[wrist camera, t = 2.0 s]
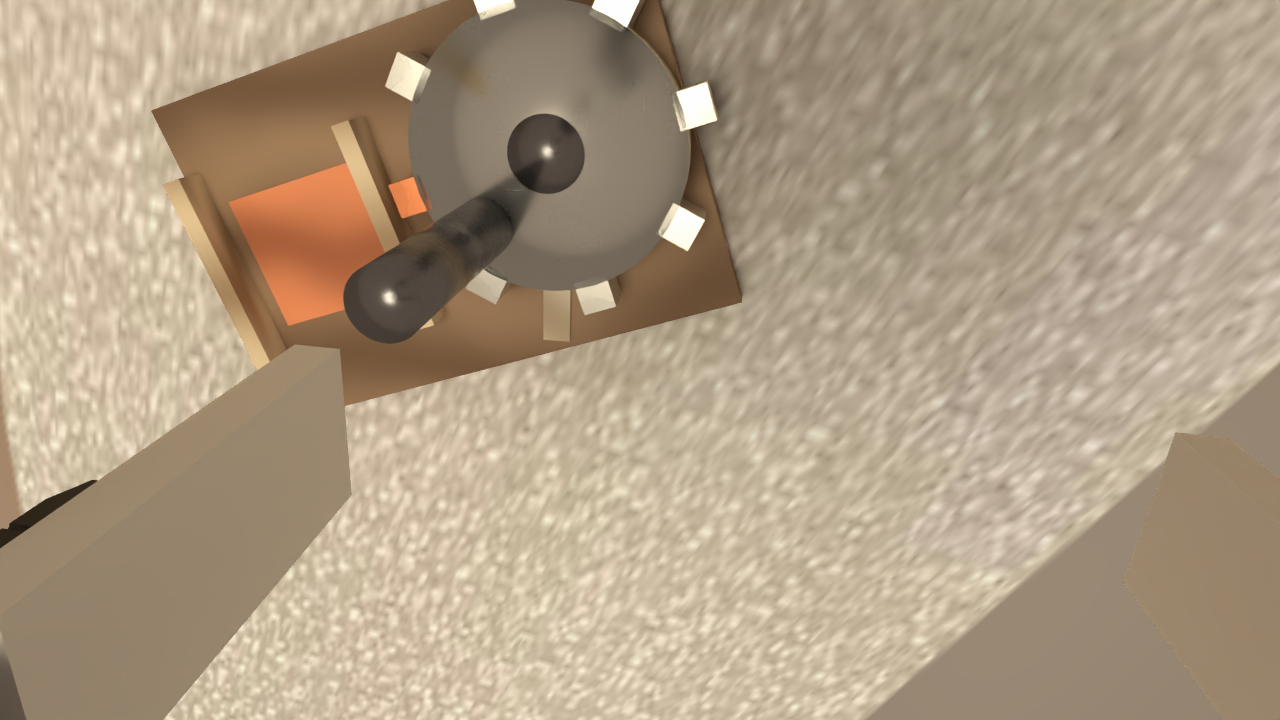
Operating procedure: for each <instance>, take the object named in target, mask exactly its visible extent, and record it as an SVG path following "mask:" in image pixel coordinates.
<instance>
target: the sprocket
mask: <svg viewBox="0 0 1280 720" xmlns="http://www.w3.org/2000/svg"><path fill="white" fill-rule="evenodd" d="M474 2H475V5H476V8H477V10H478V14H476V15H475V16H473V17H471V18H470V19H468V20H467V21H465V22H464V23H462V24H461V25H460V26H459V27H458V28H456V29H455V30H454V31H453V32H452V33H451V34H450V35H448V36H447V37H446V39H445V40H444V41H443V42H442V43H441V44H440V46H439V47H438V48H437V49H436V50H435V52H434V53H433V55H432V57H431V58H430V59H429V58H427V57H426V56H424V55H422V54H420V53H418V52H416V51H401V52H397V55H396V57H395V60H394V63H393V66H392V68H391V71H390V74H389V77H388V79H387V82H386V85H385V87H387V88H389V89H390V90H392V91H394V92H396V93H398V94H400V95H402V96H403V97H405V98H407V99H409V100H411V101H412V104H411V110H410V116H409V126H408V145H409V157H410V162H411V167H412V172H413V175H412V176H409V177H406V178H403V179H401V180H399V181H397V182H394V183H392V184H390V185H388V186H389V189H390V191H391V193H392V196H393V198H394V201H395V203H396V205H397V208H398V210H399V213H400V215H401V218H405V217H409V216H412V215H415V214H418V213H421V212H425V211H428V213H429V215H430V216H431V218H432V219H433V221H434V223H432V224H431V225H429V226H427V227H426V228H424V229H422V230H421V231H419V232H418V233H416V234H414V235H413V236H411V237H410V238H408V239H406V240H405V241H403V242H402V243H400V244H398V245H397V246H395V247H393V248H392V249H390V250H389V251H387V252H385V253H384V254H382V255H381V256H379V257H377V258H376V259H374V260H373V261H371V262H369V263H368V264H366V265H364V266H363V267H361V268H360V269H358V270H357V271H355V272H354V273H353V274H352V275H351V276H350V278H349V279H348V281H347V283H346V285H345V288H344V293H343V302H344V308H345V311H346V314H347V316H348V318H349V320H350V321H351V323H352V324H353V325H354V327H355V328H356V329H357V330H358V331H359V332H360V333H362V334H363V335H364V336H366V337H368V338H369V339H372V340H374V341H377V342H380V343H387V344H393V343H399V342H402V341H405V340H407V339H409V338H410V337H412V336H413V335H414V334H415V333H416V332H417V331H418V330H419V329H420V328H421V327H423V326H424V325H425V324H426V323H427V322H428V321H429V320H430V319H431V318H432V317H433V316H434V315H435V314H437V313H438V312H439V311H440V310H441V309H442V308H443V307H444V306H445V305H446V304H447V303H448V302H449V301H450V300H452V299H453V298H454V297H455V296H456V295H457V294H458V293H459V292H460V291H461V290H462V289H463V288H464V287H465V286H467V287H466V289H467V290H469V291H471V292H473V293H475V294H477V295H479V296H481V297H483V298H484V299H486V300H488V301H490V302H492V303H494V304H497V303H498V301H499V300H500V299H501V298H502V297H503V296H504V295H505V294H506V292H507V291H508V289H509V287H510V285H511V283H513V284H516V285H519V286H523V287H527V288H533V289H538V290H550V291H564V290H576V292H577V295H578V298H579V301H580V304H581V307H582V310H583V312H584V315H587V314H591V313H594V312H598V311H602V310H606V309H609V308H613V307H616V306H617V304H618V302H619V299H620V297H621V295H622V292H621V289H620V286H619V283H618V280H617V277H616V276H618V275H620V274H622V273H624V272H625V271H627V270H628V269H630V268H631V267H632V266H634V265H635V264H637V263H638V262H639V261H640V260H641V259H643V258H644V257H645V256H646V255H647V254H648V253H649V252H650V251H651V250H652V249H653V248H654V247H655V245H656V244H657V243H658V242H659V241H660V239H661V238H662V237H663V238H665V239H667V240H668V241H670V242H672V243H674V244H676V245H678V246H679V247H681V248H683V249H685V250H687V251H688V250H689V248H690V246H691V244H692V242H693V241H694V239H695V237H696V235H697V234H698V232H699V230H700V228H701V227H702V225H703V223H704V221H705V218H706V210H704V209H702V208H700V207H699V206H697V205H695V204H693V203H691V202H689V201H688V200H686V199H684V198H682V196H683V193H684V190H685V187H686V184H687V180H688V175H689V169H690V164H691V145H692V143H691V131H690V129H691V128H694V127H697V126H701V125H704V124H707V123H710V122H713V121H717V118H718V114H717V110H716V106H715V103H714V99H713V95H712V91H711V88H710V84H709V80H706V81H703V82H700V83H697V84H694V85H691V86H688V87H684V88H681V89H680V88H679V86H678V84H677V82H676V80H675V78H674V76H673V74H672V72H671V70H670V69H669V67H668V66H667V64H666V63H665V61H664V60H663V58H662V57H661V55H660V54H659V53H658V52H657V51H656V50H655V49H654V47H653V46H652V45H651V44H650V43H649V42H648V41H647V40H646V39H645V38H644V37H643V36H642V35H641V34H639V33H638V32H637V31H636V30H635V29H634V28H633V25H634V23H635V21H636V19H637V17H638V15H639V13H640V11H641V9H642V6H643V4H644V2H645V0H595V2H594V5H593V7H592V6H589V5H585V4H582V3H578V2H573V1H567V0H474Z"/></svg>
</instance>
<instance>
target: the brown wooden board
mask: <svg viewBox="0 0 1280 720" xmlns="http://www.w3.org/2000/svg"><path fill="white" fill-rule="evenodd" d="M567 1H573V2H578V3H582V4H585V5H589V6H592V7H593V5H594V2H595V0H567ZM476 14H478V10H477V8H476V5H475V2H474V0H448V1H446V2H443V3H440V4H438V5H435V6H432V7H430V8H427V9H424V10H421V11H419V12H416V13H413V14H411V15H408V16H405V17H403V18H400V19H397V20H395V21H392V22H389V23H386V24H384V25H381V26H378V27H376V28H373V29H370V30H368V31H365V32H362V33H359V34H357V35H354V36H351V37H349V38H346V39H343V40H341V41H338V42H335V43H332V44H330V45H327V46H324V47H322V48H319V49H316V50H314V51H311V52H308V53H305V54H303V55H300V56H297V57H295V58H292V59H289V60H287V61H284V62H281V63H279V64H276V65H273V66H270V67H268V68H265V69H262V70H260V71H257V72H254V73H252V74H249V75H246V76H243V77H241V78H238V79H235V80H233V81H230V82H227V83H225V84H222V85H219V86H216V87H214V88H211V89H208V90H206V91H203V92H200V93H198V94H195V95H192V96H189V97H187V98H184V99H181V100H179V101H176V102H173V103H171V104H168V105H165V106H162V107H160V108H157V109H154V110H152V113H153V115H154V117H155V119H156V121H157V123H158V125H159V127H160V129H161V131H162V133H163V135H164V137H165V139H166V141H167V143H168V145H169V147H170V149H171V151H172V153H173V155H174V157H175V159H176V161H177V163H178V165H179V167H180V169H181V171H182V173H183V175H184V178H181V179H177V180H174V181H171V182H168V183H166V184H163V186H164V188H165V190H166V192H167V194H168V196H169V198H170V200H171V202H172V204H173V205H174V207H175V209H176V211H177V213H178V215H179V217H180V219H181V221H182V223H183V225H184V227H185V229H186V231H187V233H188V235H189V237H190V239H191V241H192V243H193V245H194V247H195V249H196V251H197V253H198V255H199V257H200V259H201V260H202V262H203V264H204V266H205V268H206V270H207V272H208V274H209V276H210V278H211V280H212V282H213V284H214V286H215V288H216V290H217V292H218V294H219V296H220V298H221V300H222V302H223V304H224V306H225V308H226V310H227V312H228V313H229V315H230V317H231V319H232V321H233V323H234V325H235V327H236V329H237V331H238V333H239V335H240V337H241V339H242V341H243V343H244V345H245V347H246V349H247V351H248V353H249V355H250V357H251V359H252V361H253V363H254V365H255V367H256V368H257V370H259V369H260V368H262V367H263V366H264V365H266V364H267V363H269V362H270V361H272V360H273V359H275V358H276V357H277V356H279V355H280V354H282V353H283V352H285V351H286V350H288V349H289V348H290V347H292V346H293V345H305V346H315V347H325V348H335V349H340V358H341V370H342V382H343V395H344V406H346V405H350V404H354V403H357V402H361V401H365V400H369V399H373V398H377V397H380V396H384V395H388V394H392V393H396V392H400V391H403V390H407V389H411V388H415V387H419V386H423V385H426V384H430V383H434V382H438V381H442V380H446V379H449V378H453V377H457V376H461V375H465V374H469V373H472V372H476V371H480V370H484V369H488V368H492V367H496V366H499V365H503V364H507V363H511V362H515V361H519V360H522V359H526V358H530V357H534V356H538V355H542V354H545V353H549V352H553V351H557V350H561V349H565V348H568V347H572V346H576V345H580V344H584V343H588V342H591V341H595V340H599V339H603V338H607V337H611V336H614V335H618V334H622V333H626V332H630V331H634V330H637V329H641V328H645V327H649V326H653V325H657V324H660V323H664V322H668V321H672V320H676V319H680V318H683V317H687V316H691V315H695V314H699V313H703V312H706V311H710V310H714V309H718V308H722V307H726V306H729V305H733V304H737V303H741V302H742V295H741V292H740V288H739V284H738V281H737V277H736V274H735V270H734V266H733V263H732V259H731V256H730V252H729V248H728V245H727V241H726V238H725V234H724V230H723V227H722V223H721V220H720V216H719V212H718V209H717V205H716V202H715V198H714V195H713V191H712V187H711V184H710V180H709V177H708V173H707V169H706V166H705V162H704V159H703V155H702V151H701V148H700V144H699V141H698V137H697V133H696V130H695V127H694V128H691V129H690V131H691V143H692V145H691V164H690V169H689V175H688V180H687V184H686V187H685V190H684V193H683V196H682V198H684V199H686V200H688V201H689V202H691V203H693V204H695V205H697V206H699V207H700V208H702V209H704V210H706V218H705V221H704V223H703V225H702V227H701V228H700V230H699V232H698V234H697V235H696V237H695V239H694V241H693V242H692V244H691V246H690V248H689V250H688V251H687V250H685V249H683V248H681V247H679V246H678V245H676V244H674V243H672V242H670V241H668V240H667V239H665V238H663V237H662V238H661V239H660V241H659V242H658V243H657V244H656V245H655V247H654V248H653V249H652V250H651V251H650V252H649V253H648V254H647V255H646V256H645V257H644V258H643V259H641V260H640V261H639V262H638V263H637V264H635V265H634V266H632V267H631V268H630V269H628V270H627V271H625V272H624V273H622V274H620V275H618V276H616V277H617V280H618V283H619V286H620V289H621V292H622V295H621V297H620V299H619V302H618V304H617V306H616V307H613V308H609V309H606V310H602V311H598V312H594V313H591V314H587V315H584V312H583V310H582V307H581V304H580V301H579V298H578V295H577V292H576V290H564V291H550V290H538V289H533V288H527V287H523V286H519V285H516V284H513V283H511V285H510V287H509V289H508V291H507V292H506V294H505V295H504V296H503V297H502V298H501V299H500V300H499V301H498V303H497V304H494V303H492V302H490V301H488V300H486V299H484V298H483V297H481V296H479V295H477V294H475V293H473V292H471V291H469V290H467V289H466V287H467V286H465V287H464V288H463V289H462V290H461V291H460V292H459V293H458V294H457V295H456V296H455V297H454V298H453V299H452V300H450V301H449V302H448V303H447V304H446V305H445V306H444V307H443V308H442V309H441V310H440V311H439V312H438V313H437V314H435V315H434V316H433V317H432V318H431V319H430V320H429V321H428V322H427V323H426V324H425V325H424V326H423V327H421V328H420V329H419V330H418V331H417V332H416V333H415V334H414V335H413V336H412V337H410V338H409V339H407V340H405V341H402V342H399V343H393V344H387V343H380V342H377V341H374V340H372V339H369V338H368V337H366V336H364V335H363V334H362V333H360V332H359V331H358V330H357V329H356V328H355V327H354V325H353V324H352V323H351V321H350V320H349V318H348V316H347V314H346V311H345V308H344V302H343V293H344V288H345V285H346V283H347V281H348V279H349V278H350V276H351V275H352V274H353V273H354V272H355V271H357V270H358V269H360V268H361V267H363V266H364V265H366V264H368V263H369V262H371V261H373V260H374V259H376V258H377V257H379V256H381V255H382V254H384V253H385V252H387V251H389V250H390V249H392V248H393V247H395V246H397V245H398V244H400V243H402V242H403V241H405V240H406V239H408V238H410V237H411V236H413V235H414V234H416V233H418V232H419V231H421V230H422V229H424V228H426V227H427V226H429V225H431V224H432V223H434V221H433V219H432V218H431V216H430V215H429V213H428V211H425V212H421V213H418V214H415V215H412V216H409V217H405V218H401V215H400V213H399V210H398V208H397V205H396V203H395V201H394V198H393V196H392V193H391V191H390V189H389V186H388V185H390V184H392V183H394V182H397V181H399V180H401V179H403V178H406V177H409V176H412V175H413V172H412V167H411V162H410V157H409V145H408V126H409V116H410V110H411V104H412V101H411V100H409V99H407V98H405V97H403V96H402V95H400V94H398V93H396V92H394V91H392V90H390V89H389V88H387V87H385V85H386V82H387V79H388V77H389V74H390V71H391V68H392V66H393V63H394V60H395V57H396V55H397V52H401V51H416V52H418V53H420V54H422V55H424V56H426V57H427V58H429V59H430V58H431V57H432V55H433V53H434V52H435V50H436V49H437V48H438V47H439V46H440V44H441V43H442V42H443V41H444V40H445V39H446V37H447V36H448V35H450V34H451V33H452V32H453V31H454V30H455V29H456V28H458V27H459V26H460V25H461V24H462V23H464V22H465V21H467V20H468V19H470V18H471V17H473V16H475V15H476ZM633 28H634V29H635V30H636V31H637V32H638V33H639V34H641V35H642V36H643V37H644V38H645V39H646V40H647V41H648V42H649V43H650V44H651V45H652V46H653V47H654V49H655V50H656V51H657V52H658V53H659V54H660V55H661V57H662V58H663V60H664V61H665V63H666V64H667V66H668V67H669V69H670V70H671V72H672V74H673V76H674V78H675V80H676V82H677V84H678V86H679V88H680V89H681V88H684V87H683V83H682V80H681V76H680V72H679V69H678V65H677V62H676V58H675V54H674V51H673V47H672V44H671V40H670V37H669V33H668V29H667V26H666V22H665V19H664V15H663V11H662V8H661V4H660V1H659V0H645V2H644V4H643V6H642V9H641V11H640V13H639V15H638V17H637V19H636V21H635V23H634V25H633Z"/></svg>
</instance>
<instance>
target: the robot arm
mask: <svg viewBox="0 0 1280 720" xmlns="http://www.w3.org/2000/svg"><path fill="white" fill-rule="evenodd" d="M351 495H352V493H351V481H350V469H349V456H348V444H347V432H346V419H345V407H344V395H343V382H342V370H341V358H340V349H335V348H325V347H315V346H305V345H293V346H292V347H290V348H289V349H288V350H286V351H285V352H283V353H282V354H280V355H279V356H277V357H276V358H275V359H273V360H272V361H270V362H269V363H267V364H266V365H264V366H263V367H262V368H260V369H259V370H257V371H256V372H254V373H253V374H251V375H250V376H249V377H247V378H246V379H244V380H243V381H241V382H240V383H238V384H237V385H236V386H234V387H233V388H231V389H230V390H228V391H227V392H225V393H224V394H223V395H221V396H220V397H218V398H217V399H215V400H214V401H212V402H211V403H210V404H208V405H207V406H205V407H204V408H202V409H201V410H199V411H198V412H197V413H195V414H194V415H192V416H191V417H189V418H188V419H186V420H185V421H184V422H182V423H181V424H179V425H178V426H176V427H175V428H173V429H172V430H171V431H169V432H168V433H166V434H165V435H163V436H162V437H160V438H159V439H158V440H156V441H155V442H153V443H152V444H150V445H149V446H147V447H146V448H145V449H143V450H142V451H140V452H139V453H137V454H136V455H134V456H133V457H132V458H130V459H129V460H127V461H126V462H124V463H123V464H121V465H120V466H119V467H117V468H116V469H114V470H113V471H111V472H110V473H108V474H107V475H106V476H104V477H103V478H101V479H100V480H98V481H97V480H91V481H89V482H86V483H84V484H81V485H79V486H76V487H74V488H72V489H69V490H67V491H64V492H62V493H60V494H57V495H55V496H52V497H50V498H47V499H45V500H44V501H42V502H41V503H39V504H38V505H36V506H35V507H33V508H32V509H30V510H29V511H27V512H26V513H24V514H23V515H21V516H20V517H18V518H17V519H16V520H14V521H12V522H11V523H10V524H9V528H8V529H1V530H0V720H163V719H164V718H165V717H166V716H167V714H168V713H169V712H170V711H171V710H172V708H173V707H174V706H175V705H176V704H177V702H178V701H179V700H180V699H181V698H182V696H183V695H184V694H185V693H186V692H187V691H188V689H189V688H190V687H191V686H192V685H193V683H194V682H195V681H196V680H197V679H198V677H199V676H200V675H201V674H202V673H203V671H204V670H205V669H206V668H207V667H208V665H209V664H210V663H211V662H212V661H213V659H214V658H215V657H216V656H217V655H218V654H219V652H220V651H221V650H222V649H223V648H224V646H225V645H226V644H227V643H228V642H229V640H230V639H231V638H232V637H233V636H234V634H235V633H236V632H237V631H238V630H239V628H240V627H241V626H242V625H243V624H244V622H245V621H246V620H247V619H248V618H249V616H250V615H251V614H252V613H253V612H254V611H255V609H256V608H257V607H258V606H259V605H260V603H261V602H262V601H263V600H264V599H265V597H266V596H267V595H268V594H269V593H270V591H271V590H272V589H273V588H274V587H275V585H276V584H277V583H278V582H279V581H280V579H281V578H282V577H283V576H284V575H285V574H286V572H287V571H288V570H289V569H290V568H291V566H292V565H293V564H294V563H295V562H296V560H297V559H298V558H299V557H300V556H301V554H302V553H303V552H304V551H305V550H306V548H307V547H308V546H309V545H310V544H311V542H312V541H313V540H314V539H315V538H316V537H317V535H318V534H319V533H320V532H321V531H322V529H323V528H324V527H325V526H326V525H327V523H328V522H329V521H330V520H331V519H332V517H333V516H334V515H335V514H336V513H337V511H338V510H339V509H340V508H341V507H342V505H343V504H344V503H345V502H346V501H347V500H348V498H349V497H350V496H351ZM1123 583H1124V584H1125V585H1126V587H1127V588H1128V589H1129V591H1130V592H1131V593H1132V595H1133V596H1134V598H1135V599H1136V600H1137V602H1138V603H1139V604H1140V606H1141V607H1142V609H1143V610H1144V611H1145V613H1146V614H1147V615H1148V617H1149V618H1150V620H1151V621H1152V622H1153V624H1154V625H1155V626H1156V628H1157V629H1158V631H1159V632H1160V633H1161V635H1162V636H1163V637H1164V639H1165V640H1166V641H1167V643H1168V644H1169V646H1170V647H1171V648H1172V650H1173V651H1174V652H1175V654H1176V655H1177V657H1178V658H1179V659H1180V661H1181V662H1182V663H1183V665H1184V666H1185V667H1186V669H1187V670H1188V672H1189V673H1190V674H1191V676H1192V677H1193V678H1194V680H1195V681H1196V683H1197V684H1198V685H1199V687H1200V688H1201V689H1202V691H1203V692H1204V694H1205V695H1206V696H1207V698H1208V699H1209V700H1210V702H1211V703H1212V705H1213V706H1214V707H1215V709H1216V710H1217V711H1218V713H1219V714H1220V715H1221V717H1222V718H1223V720H1280V478H1278V477H1277V476H1276V475H1275V474H1273V473H1272V472H1271V471H1270V470H1268V469H1267V468H1266V467H1264V466H1263V465H1262V464H1261V463H1259V462H1258V461H1257V460H1256V459H1254V458H1253V457H1252V456H1251V455H1249V454H1248V453H1247V452H1245V451H1244V450H1243V449H1242V448H1240V447H1239V446H1238V445H1237V444H1235V443H1234V442H1233V441H1232V440H1230V439H1229V438H1224V437H1214V436H1204V435H1194V434H1184V433H1175V436H1174V439H1173V441H1172V444H1171V447H1170V450H1169V453H1168V456H1167V459H1166V461H1165V464H1164V467H1163V470H1162V473H1161V476H1160V479H1159V481H1158V484H1157V487H1156V490H1155V493H1154V496H1153V499H1152V502H1151V504H1150V507H1149V510H1148V513H1147V516H1146V519H1145V522H1144V524H1143V527H1142V530H1141V533H1140V536H1139V539H1138V542H1137V545H1136V547H1135V550H1134V553H1133V556H1132V559H1131V561H1130V564H1129V567H1128V570H1127V573H1126V576H1125V579H1124V581H1123Z"/></svg>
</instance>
